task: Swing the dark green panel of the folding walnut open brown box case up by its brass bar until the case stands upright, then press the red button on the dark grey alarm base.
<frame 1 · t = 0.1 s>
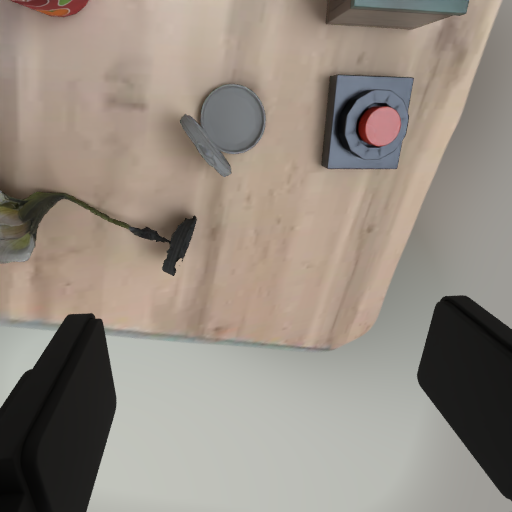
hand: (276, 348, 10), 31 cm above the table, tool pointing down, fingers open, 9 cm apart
pocket watch: (222, 125, 37), on the table
alarm base: (360, 123, 38), on the table
artificial flower: (88, 219, 39), on the table
alarm button: (379, 126, 34), point 4 cm above the table, slide at 0.1 cm
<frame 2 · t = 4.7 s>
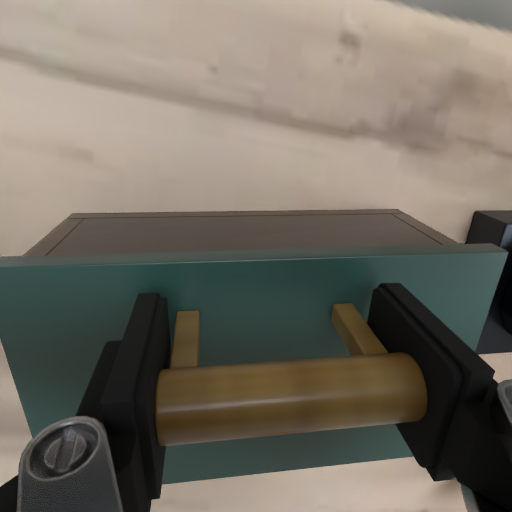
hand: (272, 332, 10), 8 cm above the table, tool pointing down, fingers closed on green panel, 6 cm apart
green panel: (272, 423, 11), point 9 cm above the table, hinge at 0.0°, touching gripper
open brown box case: (243, 291, 19), on the table
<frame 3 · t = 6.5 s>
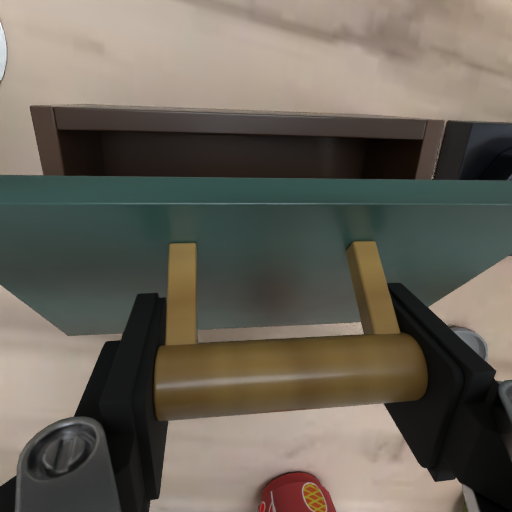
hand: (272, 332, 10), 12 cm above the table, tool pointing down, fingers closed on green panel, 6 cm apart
pocket watch: (443, 364, 29), on the table
alarm base: (494, 187, 23), on the table
green panel: (266, 335, 11), point 11 cm above the table, hinge at 38.3°, touching gripper
smoothie: (290, 489, 33), on the table
open brown box case: (237, 192, 21), on the table
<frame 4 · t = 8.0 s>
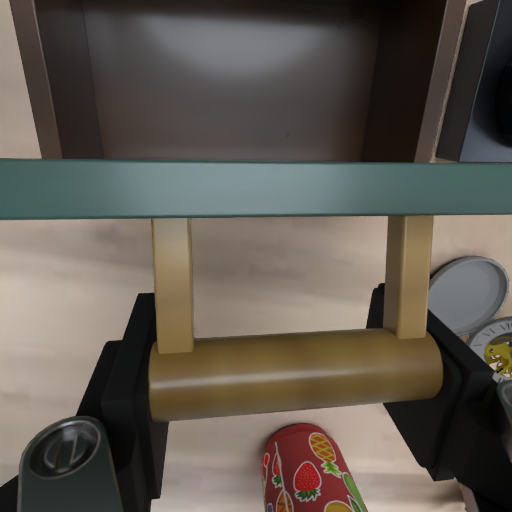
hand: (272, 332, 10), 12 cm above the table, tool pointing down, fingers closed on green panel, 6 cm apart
pocket watch: (459, 302, 27), on the table
green panel: (271, 270, 10), point 12 cm above the table, hinge at 74.4°, touching gripper
smoothie: (296, 443, 31), on the table
open brown box case: (237, 86, 19), on the table
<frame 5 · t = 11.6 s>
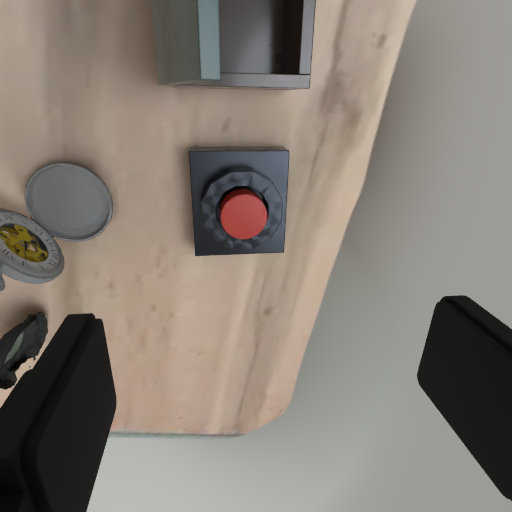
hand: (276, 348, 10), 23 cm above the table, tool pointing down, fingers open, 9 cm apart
pocket watch: (63, 207, 30), on the table
alarm base: (237, 198, 32), on the table
alarm button: (243, 214, 28), point 4 cm above the table, slide at 0.1 cm
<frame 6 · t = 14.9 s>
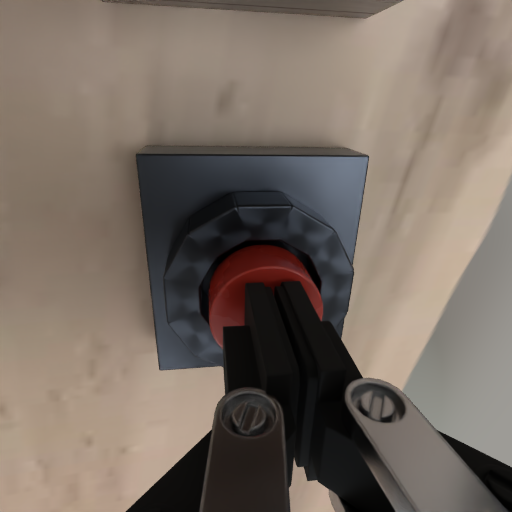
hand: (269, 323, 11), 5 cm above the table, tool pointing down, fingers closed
alarm base: (248, 251, 16), on the table
alarm button: (263, 303, 12), point 4 cm above the table, slide at 0.0 cm, touching gripper
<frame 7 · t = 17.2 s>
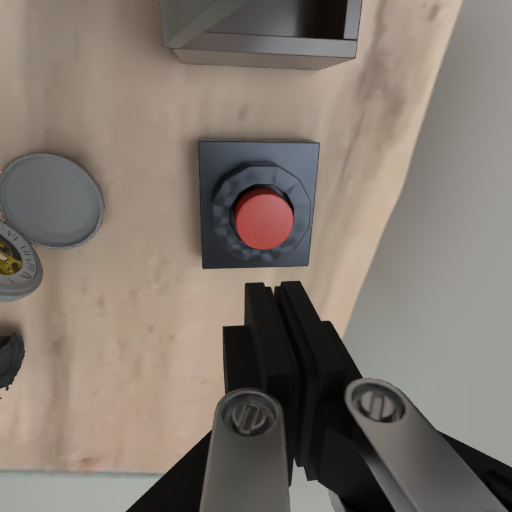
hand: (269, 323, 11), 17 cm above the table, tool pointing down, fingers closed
pocket watch: (44, 208, 25), on the table
alarm base: (254, 201, 26), on the table
alarm button: (263, 218, 22), point 4 cm above the table, slide at 0.1 cm
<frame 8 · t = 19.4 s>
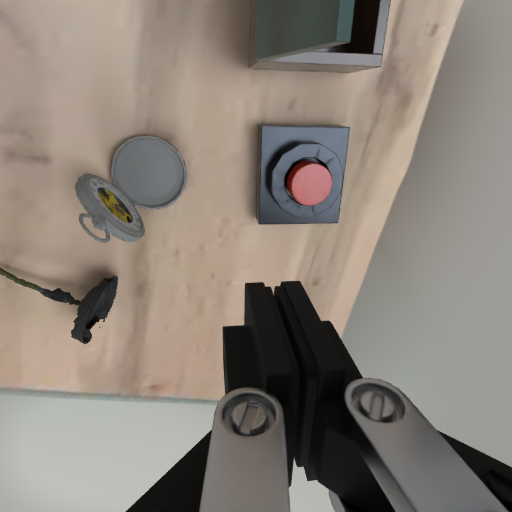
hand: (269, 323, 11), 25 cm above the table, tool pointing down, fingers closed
pocket watch: (140, 178, 33), on the table
alarm base: (297, 173, 35), on the table
alarm button: (309, 183, 31), point 4 cm above the table, slide at 0.1 cm
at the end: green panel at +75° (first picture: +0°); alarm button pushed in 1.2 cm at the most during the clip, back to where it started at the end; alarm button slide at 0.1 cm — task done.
